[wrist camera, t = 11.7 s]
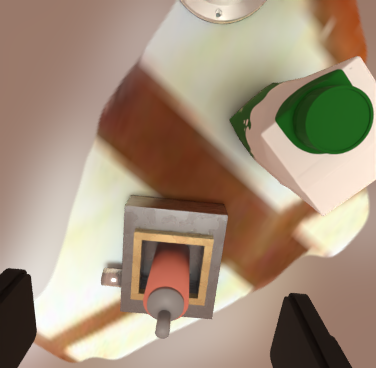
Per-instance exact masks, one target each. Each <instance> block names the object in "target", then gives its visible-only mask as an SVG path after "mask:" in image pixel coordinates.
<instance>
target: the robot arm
mask: <svg viewBox="0 0 376 368" xmlns="http://www.w3.org/2000/svg"><path fill="white" fill-rule="evenodd" d="M180 1H181V2H182V4H183V5H184V6H185V7H186V8H187V9H188V10H189V11H190V12H191V13H193V14H194V15H196V16H197V17H199V18H201V19H203V20H206V21H208V22H213V23H218V24H224V23H233V22H236V21H240V20H242V19H244V18H246V17H248V16H250V15H251V14H253V13H254V12H255V11H257V10H258V9H259V8H260V7H261V6H262V5H263V4H264V3H265V2H266V0H180ZM217 13H219V14H220V17H216V14H217ZM36 333H37V329H36V319H35V310H34V301H33V292H32V283H31V276H30V275H29V274H27V272H26V271H25V270H22V269H11V268H8V269H6V270H5V271H3V273H1V274H0V368H17V367H18V366H19V364H20V362H21V361H22V359H23V358H24V356H25V355H26V353H27V351H28V350H29V348H30V347H31V345H32V343H33V342H34V340H35V337H36ZM270 358H271V363H272V366H273V368H352V367H351V365H350V363H349V361H348V360H347V358H346V356H345V355H344V353H343V351H342V350H341V347H340V346H339V344H338V342H337V341H336V340H335V338H334V337H333V336H331V335H330V334H329V332H328V330H327V329H326V327H325V325H324V323H323V321H322V320H321V318H320V316H319V314H318V312H317V311H316V309H315V307H314V305H313V304H312V302H311V300H310V298H309V297H308V295H306V294H298V293H290V294H289V296H288V297H284V300H283V304H282V307H281V311H280V315H279V319H278V323H277V327H276V331H275V334H274V338H273V342H272V346H271V351H270Z"/></svg>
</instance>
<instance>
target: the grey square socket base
mask: <svg viewBox="0 0 376 368" xmlns="http://www.w3.org/2000/svg"><path fill="white" fill-rule="evenodd" d="M227 219H228V214H227V211H226V208H225V206H224V204H216V203H205V202H195V201H185V200H175V199H164V198H154V197H144V196H134V195H131V196H130V198H129V200H128V201H127V203H126V204H125V214H124V238H123V261H122V269H113V268H104V270H103V273H102V278H101V285H104V286H115V287H121V308H120V311H122V312H134V313H146V314H148V313H147V311H146V310H145V308H144V305H143V297H144V293H145V290H146V286H147V282H148V278H149V274H150V270H151V266H152V262H153V258H154V254H155V250H156V248H157V246H158V245H159V244H160V243H161V242H169V243H180V244H186V245H187V247H188V249H189V252H190V268H189V305H188V309H187V311H186V312H185V314H184V315H183V316H181V317H193V318H205V319H212V315H213V308H214V302H215V296H216V289H217V283H218V276H219V270H220V264H221V257H222V251H223V244H224V238H225V231H226V225H227Z"/></svg>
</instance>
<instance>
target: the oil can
mask: <svg viewBox="0 0 376 368" xmlns="http://www.w3.org/2000/svg"><path fill="white" fill-rule="evenodd" d="M189 268H190V252H189V249H188V247H187V245H186V244H180V243H169V242H161V243H160V244H159V245H158V246H157V248H156V250H155V254H154V258H153V262H152V266H151V270H150V274H149V278H148V282H147V286H146V290H145V293H144V297H143V305H144V308H145V310H146V311H147V313H148V314H149V315H151V316H152V317H153V318H155V319H157V325H156V331H155V334H156V336H157V337H158V338H166V337H168V336H169V331H170V321H172V320H176V319H178V318H180V317H181V316H183V315H184V314H185V312H186V311H187V309H188V305H189Z"/></svg>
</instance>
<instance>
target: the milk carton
mask: <svg viewBox="0 0 376 368" xmlns="http://www.w3.org/2000/svg"><path fill="white" fill-rule="evenodd" d="M229 120H230V122H231V124H232V126H233V128H234V130H235V132H236V134H237V136H238V137H239V139H240V140H241V142H242V143H243V145H244V146H245V148H246V149H247V150H248V152H249V153H250V154H251V156H252V157H253V158H254V159H255V160H256V162H258V163H259V164H260V165H261V166H262V167H263V168H264V169H266V170H267V171H268V172H269V173H270V174H271V175H272V176H274V177H275V178H276V179H277V180H278V181H279V182H280V183H281V184H282V185H284V186H286V187H288V188H289V189H291V190H292V191H293V192H294V193H296V194H297V195H298V196H299V197H300V198H302V199H303V200H304V201H305V202H307V203H308V204H309V205H310V206H312V207H313V208H314V209H315V210H316V211H317V212H319V213H320V214H321V215H322V216H324V215H326V214H327V213H329V212H330V211H332V210H333V209H334V208H336V207H337V206H339V205H340V204H342V203H343V202H344V201H346V200H347V199H349V198H350V197H352V196H353V195H354V194H356V193H357V192H359V191H360V190H362V189H363V188H365V187H366V186H367V185H368V184H370V183H372V182H373V181H375V180H376V81H375V79H374V78H373V76H372V75H371V73H370V72H369V70H368V68H367V67H366V65H365V64H364V62H363V60H362V59H361V57H358V56H356V57H353V58H351V59H349V60H346V61H344V62H341V63H339V64H336V65H334V66H331V67H329V68H327V69H324V70H322V71H319V72H317V73H314V74H312V75H309V76H307V77H304V78H300V79H295V80H290V81H286V82H281V83H272V84H271V85H269V86H267V87H266V88H264V89H263V90H262V91H261V92H259V93H258V94H257V95H256V96H255V97H253V98H252V99H251V100H250V101H249V102H248V103H246V104H245V105H244V106H243V107H242V108H241V109H240V110H239V111H238V112H237V113H236V114H235V115H234V116H233V117H231V118H230V119H229Z"/></svg>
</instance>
